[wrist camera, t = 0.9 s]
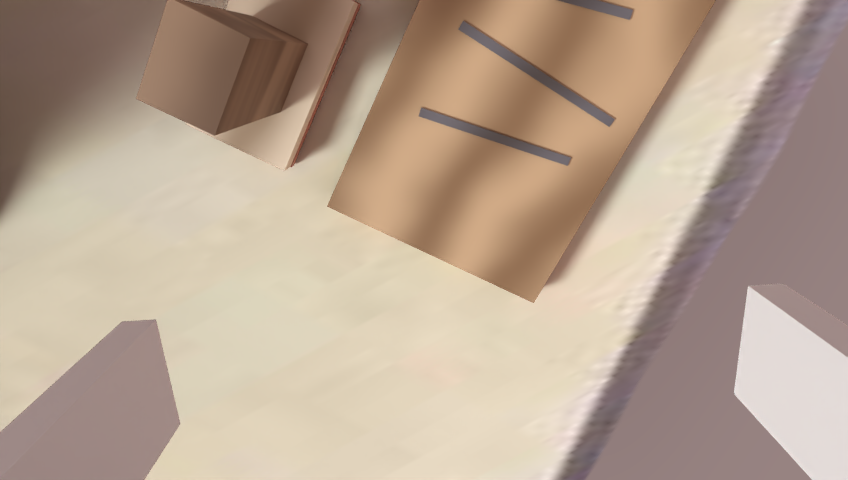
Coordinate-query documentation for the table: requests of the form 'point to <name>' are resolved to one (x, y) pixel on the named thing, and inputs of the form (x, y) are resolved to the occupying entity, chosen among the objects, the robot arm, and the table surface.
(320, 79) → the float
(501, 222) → the board
